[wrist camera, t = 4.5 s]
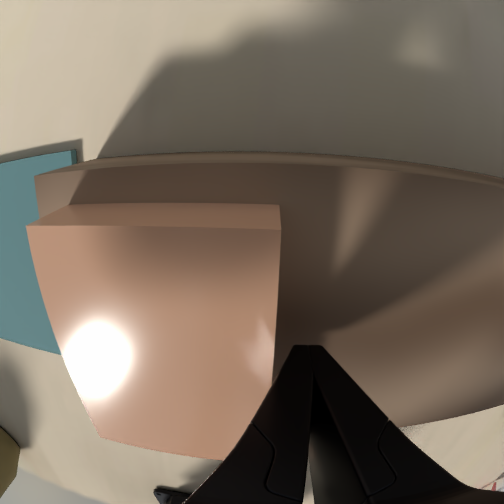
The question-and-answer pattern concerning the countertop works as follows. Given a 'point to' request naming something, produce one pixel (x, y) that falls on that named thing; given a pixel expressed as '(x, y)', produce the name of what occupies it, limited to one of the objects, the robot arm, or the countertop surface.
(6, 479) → the squeeze bottle
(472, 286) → the platform
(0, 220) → the mat
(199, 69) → the countertop surface
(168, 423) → the tile
